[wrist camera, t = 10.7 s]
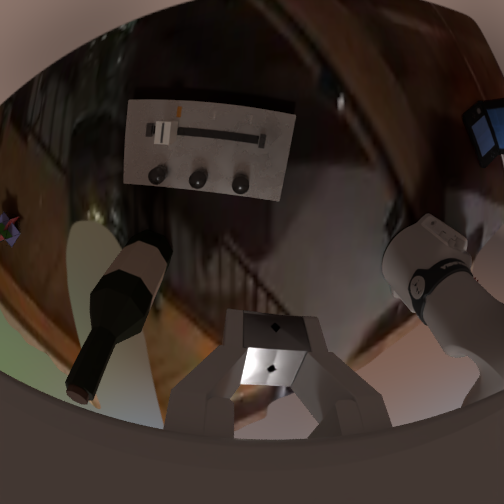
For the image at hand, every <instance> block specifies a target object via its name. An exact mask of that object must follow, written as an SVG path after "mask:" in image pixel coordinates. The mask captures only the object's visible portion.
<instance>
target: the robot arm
mask: <svg viewBox="0 0 504 504" xmlns="http://www.w3.org/2000/svg"><path fill="white" fill-rule="evenodd" d="M432 221H433V222H432ZM431 222H432V223H431ZM466 250H467V239H466V238H465V237H464V236H463V235H462V234H460V233H459V232H457V231H456V230H454V229H453V228H451V227H450V226H448V225H447V224H445V223H444V222H442V221H441V220H439V219H438V218H436V217H434V216H433V215H431V214H429V213H428V214H425V215H424V216H423V217H422V218H421V219H420V220H419V221H418V222H417V223H415V224H413V225H411V226H409V227H407V228H405V229H404V230H402V231H401V232H400V233H399V234H397V235H396V236H395V238H394V239H393V240H392V241H391V243H390V244H389V246H388V247H387V249H386V252H385V254H384V257H383V262H382V271H383V275H384V278H385V279H386V281H387V282H388V283H389V284H390V286H391V292H392V295H393V296H394V297H395V298H400V299H401V300H402V301H403V302H404V303H405V304H406V306H407V307H408V308H409V309H410V310H411V311H412V312H413V313H415V312H416V315H417V316H418V318H419V319H420V320H421V321H422V322H423V323H424V324H425V325H427V326H428V327H429V328H430V330H431V332H432V333H433V335H434V336H435V338H436V339H437V341H438V343H439V344H440V346H441V347H442V349H443V351H444V352H445V353H446V354H447V355H449V356H451V357H465V356H468V357H469V358H471V359H472V360H473V361H474V362H475V363H476V364H477V366H478V368H479V370H480V376H479V378H478V379H477V381H476V382H475V384H474V385H473V387H472V388H471V390H470V391H469V393H468V394H467V396H466V397H465V399H464V401H463V404H462V406H461V408H458V409H455V410H453V411H450V412H447V413H444V414H440V415H438V416H434V417H431V418H427V419H424V420H420V421H417V422H413V423H409V424H405V425H400V426H396V427H392V424H391V421H390V418H389V415H388V412H387V409H386V407H385V404H384V401H383V398H382V395H381V394H380V393H378V392H377V391H376V390H375V389H374V388H373V387H371V386H370V385H369V384H368V383H367V382H366V381H364V380H363V379H362V378H361V377H360V376H359V375H358V374H357V373H355V372H354V371H353V370H352V369H351V368H350V367H349V366H347V365H346V364H345V363H344V362H343V361H342V360H341V359H339V358H338V357H337V356H336V355H335V354H334V353H333V352H328V349H327V346H326V343H325V339H324V336H323V333H322V330H321V326H320V323H319V320H318V318H317V317H311V316H302V317H301V316H290V315H277V314H268V313H259V312H251V311H244V310H243V311H242V310H234V309H227V312H226V319H225V326H224V334H223V342H222V345H219V346H218V347H217V348H216V349H215V350H214V351H213V352H212V353H211V354H210V355H208V356H207V357H206V358H205V359H204V360H203V361H202V362H201V363H200V364H199V365H198V366H197V367H196V368H195V369H193V370H192V371H191V372H190V373H189V374H188V375H187V376H186V377H185V378H184V379H183V380H181V381H180V382H179V383H178V384H177V385H176V386H175V387H174V388H173V389H171V394H170V399H169V404H168V409H167V414H166V419H165V424H164V430H163V429H158V428H153V427H148V426H143V425H139V424H135V423H131V422H127V421H123V420H119V419H116V418H112V417H109V416H106V415H102V414H99V413H95V412H93V411H89V410H87V409H84V408H81V407H78V406H75V405H73V404H70V403H67V402H65V401H62V400H60V399H57V398H55V397H53V396H50V395H48V394H46V393H43V392H41V391H39V390H37V389H35V388H32V387H31V386H28V385H26V384H24V383H22V382H20V381H18V380H17V379H15V378H13V377H11V376H9V375H7V374H5V373H4V372H2V371H0V504H504V304H503V303H501V302H499V301H498V300H496V299H495V298H494V297H493V296H491V294H489V293H488V292H487V291H486V290H485V289H484V288H483V287H482V286H481V285H480V284H479V283H478V280H477V281H476V278H473V275H472V273H471V270H470V268H471V263H472V259H471V255H470V254H469V253H468V252H466ZM240 384H252V385H274V386H291V388H292V390H293V391H294V392H295V394H296V395H297V396H298V397H299V399H300V400H301V401H302V403H303V404H304V405H305V406H306V408H307V409H308V410H309V412H310V413H311V414H312V415H313V417H314V418H315V419H316V420H317V422H318V423H319V425H318V426H317V427H316V428H315V430H314V431H313V432H312V433H311V434H310V436H309V437H308V439H292V440H291V439H290V440H255V439H254V440H253V439H234V403H233V402H232V401H231V400H230V398H231V397H232V395H233V394H234V393H235V391H236V390H237V389H238V387H239V386H240Z"/></svg>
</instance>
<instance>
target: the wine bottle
mask: <svg viewBox="0 0 504 504" xmlns="http://www.w3.org/2000/svg"><path fill="white" fill-rule="evenodd" d="M172 253H173V251H172V249H171V247H170V246H169V244H168V242H167V240H166V238H165V237H164V236H163V235H160V234H157V233H155V232H152V231H149V230H145V231H143V232H141V233H139V234H137V235H134V236H133V237H132V238H131V239H130V240H129V242H128V243H127V244H126V246H125V247H124V248H123V249H122V251H121V252H120V254H119V255H118V256H117V257H116V259H115V260H114V262H113V263H112V264H111V266H110V267H109V268H108V270H107V271H106V272H105V274H104V275H103V277H102V278H101V279H100V281H99V282H98V284H97V285H96V287H95V288H94V289H93V291H92V292H91V294H90V318H91V326H92V330H91V332H90V334H89V336H88V338H87V340H86V341H85V343H84V345H83V347H82V349H81V351H80V353H79V355H78V357H77V359H76V361H75V363H74V365H73V367H72V369H71V371H70V373H69V375H68V377H67V379H66V382H65V383H66V387H67V390H66V393H67V395H68V396H69V397H70V398H71V399H72V400H74V401H76V402H78V403H80V404H87V403H88V400H93V399H94V396H95V394H96V391H97V389H98V386H99V383H100V381H101V378H102V376H103V373H104V371H105V368H106V366H107V363H108V361H109V359H110V356H111V354H112V352H113V349H114V347H115V345H116V344H117V343H119V342H122V341H123V340H126V339H128V338H130V337H132V336H134V335H136V334H138V333H140V332H141V331H142V328H143V326H144V323H145V321H146V318H147V316H148V313H149V311H150V308H151V306H152V303H153V301H154V298H155V296H156V294H157V291H158V289H159V287H160V284H161V282H162V280H163V277H164V275H165V273H166V270H167V268H168V266H169V263H170V259H171V256H172Z"/></svg>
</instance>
